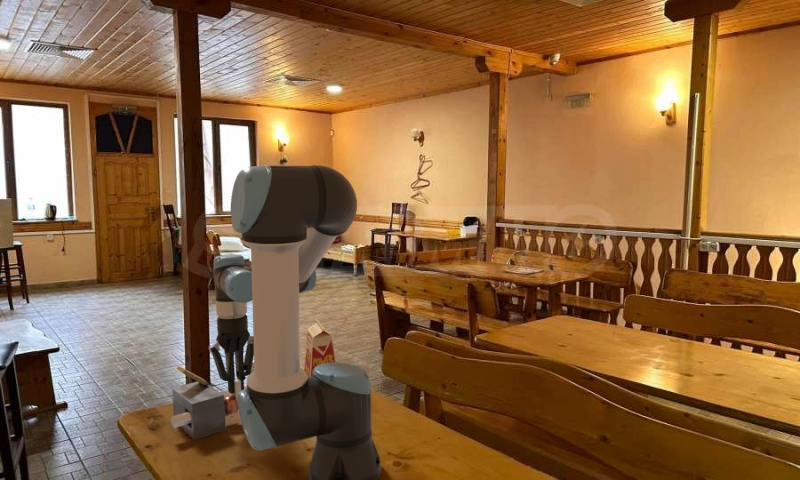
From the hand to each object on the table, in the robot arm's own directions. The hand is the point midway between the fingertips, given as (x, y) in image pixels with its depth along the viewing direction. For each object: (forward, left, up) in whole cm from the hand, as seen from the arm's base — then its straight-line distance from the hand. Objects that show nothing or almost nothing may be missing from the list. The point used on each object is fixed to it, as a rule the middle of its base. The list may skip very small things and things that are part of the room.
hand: (237, 403), depth 143 cm
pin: (0, +8, -2) cm, 9 cm away
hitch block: (+4, +9, -4) cm, 10 cm away
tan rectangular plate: (+8, +8, +7) cm, 14 cm away
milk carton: (+6, -29, -5) cm, 30 cm away
